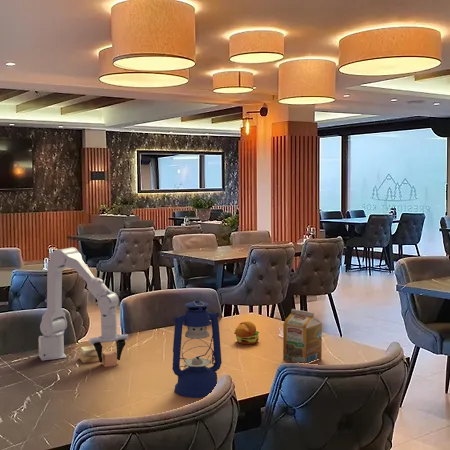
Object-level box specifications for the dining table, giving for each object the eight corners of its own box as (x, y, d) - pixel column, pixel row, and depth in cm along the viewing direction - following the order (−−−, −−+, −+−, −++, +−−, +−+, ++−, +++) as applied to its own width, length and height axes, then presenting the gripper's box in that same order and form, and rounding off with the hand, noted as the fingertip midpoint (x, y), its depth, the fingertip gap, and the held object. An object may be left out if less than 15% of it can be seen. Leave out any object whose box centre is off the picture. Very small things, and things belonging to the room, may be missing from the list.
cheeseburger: (264, 340, 265) (262, 319, 262) (252, 352, 257) (250, 330, 254) (244, 337, 271) (241, 316, 268) (231, 348, 262) (229, 327, 259)
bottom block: (83, 364, 234) (83, 358, 234) (79, 359, 240) (79, 353, 240) (101, 362, 237) (101, 355, 237) (97, 357, 243) (97, 351, 243)
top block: (84, 357, 235) (84, 350, 235) (81, 353, 240) (80, 347, 240) (99, 355, 237) (99, 349, 237) (96, 351, 243) (96, 345, 242)
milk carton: (283, 359, 238) (283, 311, 236) (299, 353, 245) (299, 306, 244) (305, 365, 231) (305, 315, 229) (321, 358, 238) (321, 310, 237)
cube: (105, 367, 229) (105, 355, 229) (102, 363, 233) (102, 352, 233) (117, 365, 231) (116, 353, 231) (113, 362, 235) (113, 350, 235)
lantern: (180, 401, 194) (179, 307, 191) (165, 386, 208) (164, 298, 205) (230, 393, 200) (230, 302, 198) (212, 379, 214) (212, 294, 212)
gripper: (92, 329, 224) (92, 366, 226) (130, 325, 231) (131, 360, 232) (87, 325, 231) (88, 361, 232) (125, 321, 237) (125, 356, 238)
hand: (109, 360), depth 232 cm, fingers open, 6 cm apart
